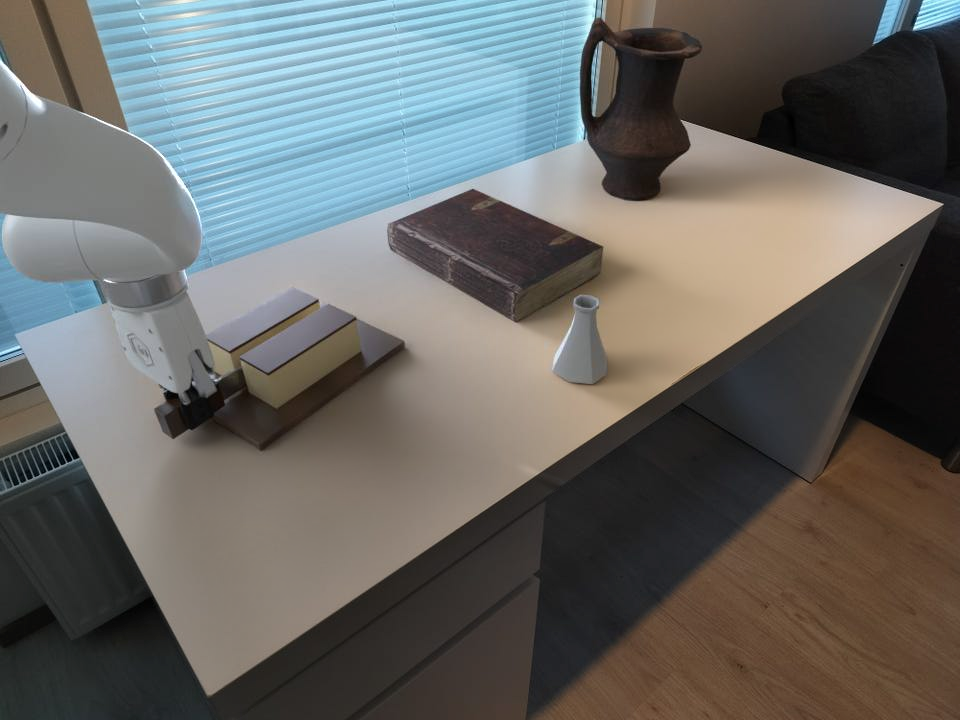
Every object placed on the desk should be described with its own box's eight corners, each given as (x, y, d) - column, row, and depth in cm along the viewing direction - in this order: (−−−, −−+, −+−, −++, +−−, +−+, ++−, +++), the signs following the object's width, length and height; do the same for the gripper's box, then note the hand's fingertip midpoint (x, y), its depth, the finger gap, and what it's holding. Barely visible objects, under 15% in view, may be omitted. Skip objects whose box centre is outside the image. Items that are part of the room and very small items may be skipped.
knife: (173, 439, 76) (164, 416, 74) (162, 432, 77) (153, 408, 74) (279, 371, 85) (273, 348, 83) (268, 365, 86) (263, 343, 84)
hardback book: (389, 250, 112) (386, 222, 109) (473, 214, 122) (472, 188, 119) (514, 323, 95) (515, 292, 92) (600, 275, 105) (603, 246, 102)
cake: (276, 409, 80) (267, 373, 77) (213, 371, 86) (202, 336, 82) (361, 351, 89) (356, 316, 85) (299, 320, 94) (292, 286, 91)
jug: (665, 167, 139) (692, 3, 120) (694, 207, 124) (730, 27, 106) (562, 171, 137) (573, 6, 119) (579, 211, 123) (595, 31, 104)
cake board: (260, 450, 76) (258, 444, 75) (166, 388, 85) (164, 382, 84) (405, 346, 91) (404, 340, 90) (312, 303, 100) (311, 297, 99)
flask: (542, 375, 86) (546, 309, 80) (564, 344, 91) (569, 280, 85) (596, 392, 83) (605, 325, 77) (616, 360, 89) (625, 294, 82)
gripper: (65, 270, 68) (125, 408, 80) (156, 324, 61) (208, 467, 72) (134, 241, 73) (181, 375, 84) (227, 288, 65) (265, 427, 77)
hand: (193, 416), depth 78 cm, fingers closed on knife, 2 cm apart
